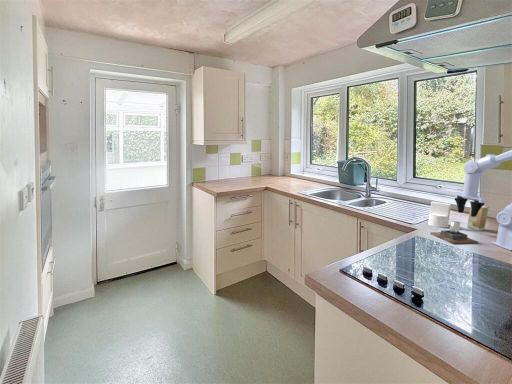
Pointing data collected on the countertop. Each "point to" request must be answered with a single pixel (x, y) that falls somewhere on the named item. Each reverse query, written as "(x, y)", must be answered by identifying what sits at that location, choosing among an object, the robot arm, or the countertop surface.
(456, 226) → the clear glass cylinder
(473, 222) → the skincare box
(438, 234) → the dock
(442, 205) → the cylinder with rectangular tab
